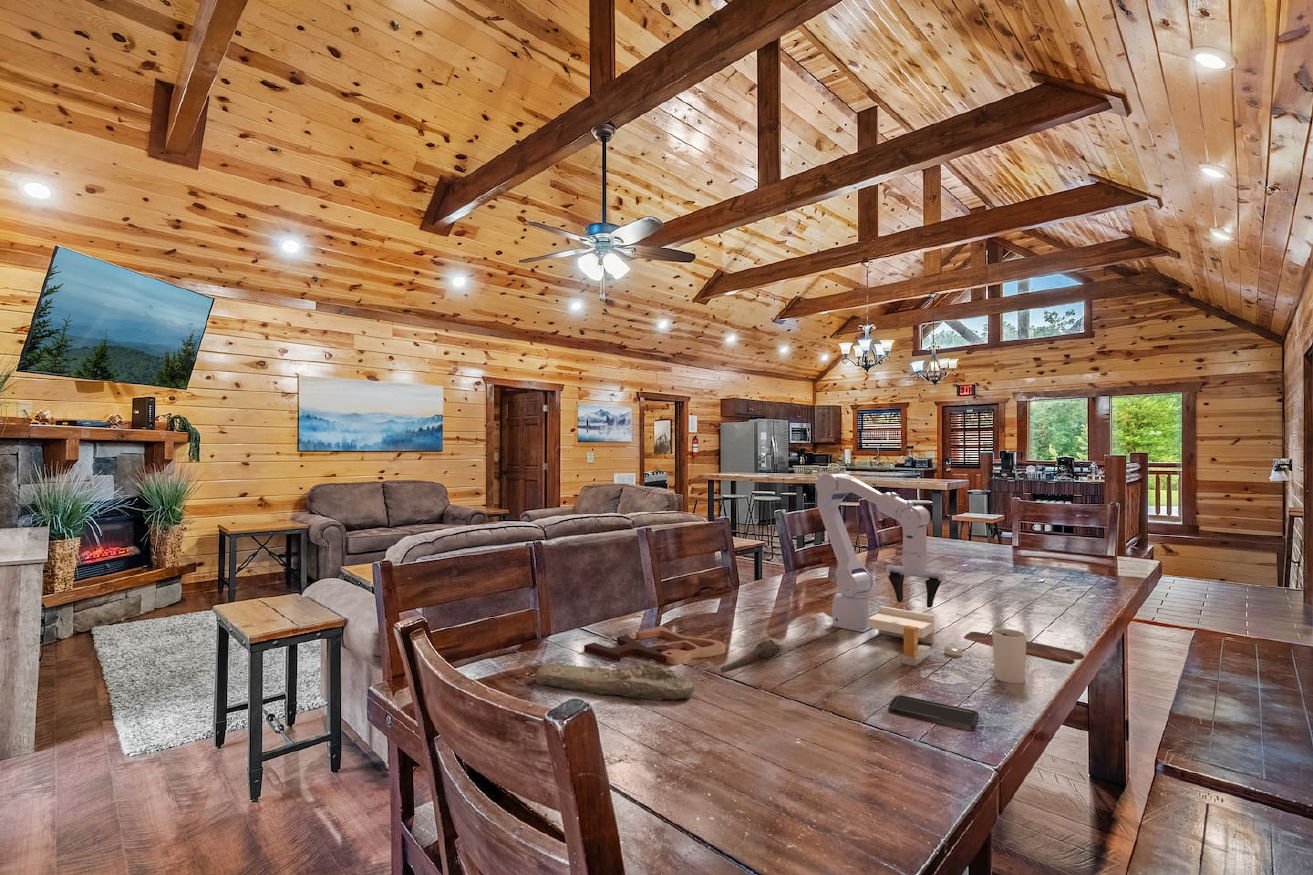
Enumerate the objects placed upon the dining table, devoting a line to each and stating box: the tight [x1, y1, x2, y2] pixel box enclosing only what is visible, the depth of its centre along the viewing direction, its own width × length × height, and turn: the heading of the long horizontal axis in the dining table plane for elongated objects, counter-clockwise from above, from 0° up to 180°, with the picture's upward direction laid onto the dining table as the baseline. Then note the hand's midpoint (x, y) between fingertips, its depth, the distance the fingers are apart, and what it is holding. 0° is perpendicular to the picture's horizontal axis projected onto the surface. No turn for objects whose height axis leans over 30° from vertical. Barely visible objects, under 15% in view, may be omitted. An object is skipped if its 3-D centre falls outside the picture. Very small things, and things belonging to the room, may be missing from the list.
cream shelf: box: [868, 605, 935, 645], centre depth 163 cm, size 14×9×7 cm, turn 49°
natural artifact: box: [720, 639, 781, 673], centre depth 147 cm, size 4×23×4 cm
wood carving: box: [583, 625, 726, 665], centre depth 153 cm, size 28×2×24 cm
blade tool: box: [901, 625, 932, 667], centre depth 149 cm, size 3×11×8 cm, turn 139°
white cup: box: [991, 628, 1027, 684], centre depth 136 cm, size 7×7×10 cm
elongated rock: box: [534, 661, 695, 702], centre depth 130 cm, size 35×5×10 cm
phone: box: [888, 694, 980, 731], centre depth 118 cm, size 8×1×15 cm
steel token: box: [944, 645, 964, 658], centre depth 152 cm, size 4×4×2 cm
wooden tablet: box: [963, 631, 1085, 665], centre depth 158 cm, size 26×2×10 cm
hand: (914, 604), depth 161 cm, fingers open, 7 cm apart
